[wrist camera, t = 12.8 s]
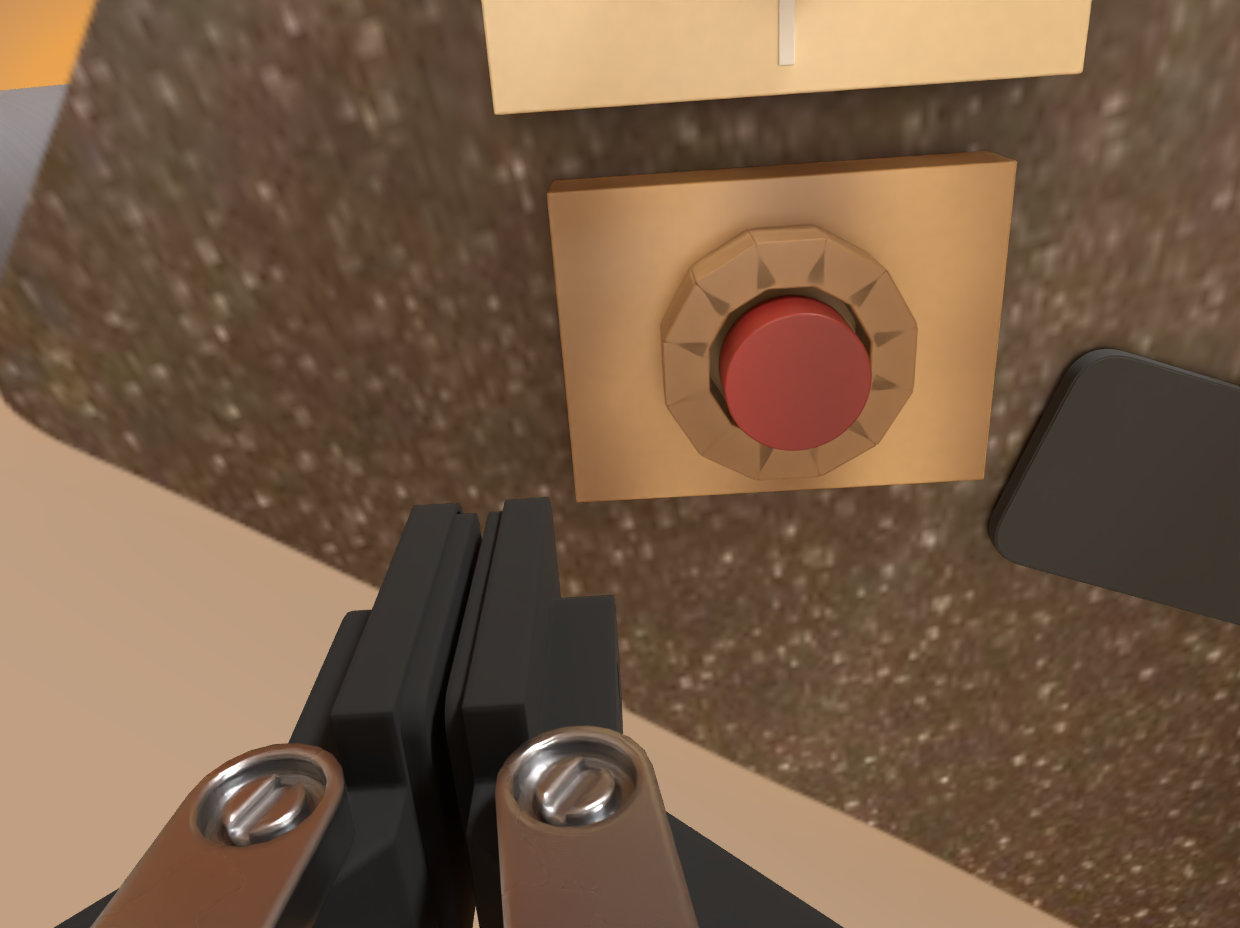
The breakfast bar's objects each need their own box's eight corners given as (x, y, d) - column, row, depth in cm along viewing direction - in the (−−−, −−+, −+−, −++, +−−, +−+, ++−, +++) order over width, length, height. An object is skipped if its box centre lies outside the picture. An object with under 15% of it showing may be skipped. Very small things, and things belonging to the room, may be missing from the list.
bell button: (719, 428, 25) (726, 455, 24) (717, 298, 24) (723, 317, 22) (853, 421, 25) (869, 447, 24) (859, 289, 24) (875, 308, 22)
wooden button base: (579, 471, 30) (573, 532, 26) (552, 180, 26) (540, 204, 22) (960, 449, 29) (1006, 508, 26) (987, 150, 26) (1047, 170, 22)
